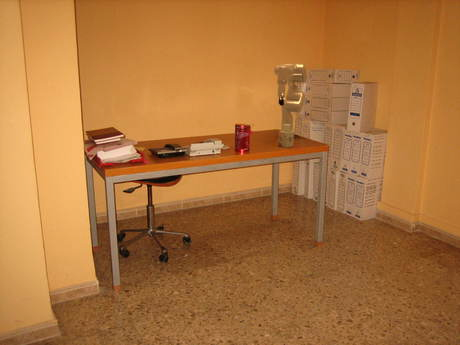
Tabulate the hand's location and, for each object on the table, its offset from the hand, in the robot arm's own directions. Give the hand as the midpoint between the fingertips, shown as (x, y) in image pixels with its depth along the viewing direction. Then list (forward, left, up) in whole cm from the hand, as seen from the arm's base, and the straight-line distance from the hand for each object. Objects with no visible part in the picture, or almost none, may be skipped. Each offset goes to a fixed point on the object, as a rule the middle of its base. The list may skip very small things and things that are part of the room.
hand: (281, 104), depth 341 cm
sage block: (+13, +4, -18) cm, 23 cm away
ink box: (+13, +4, -31) cm, 33 cm away
